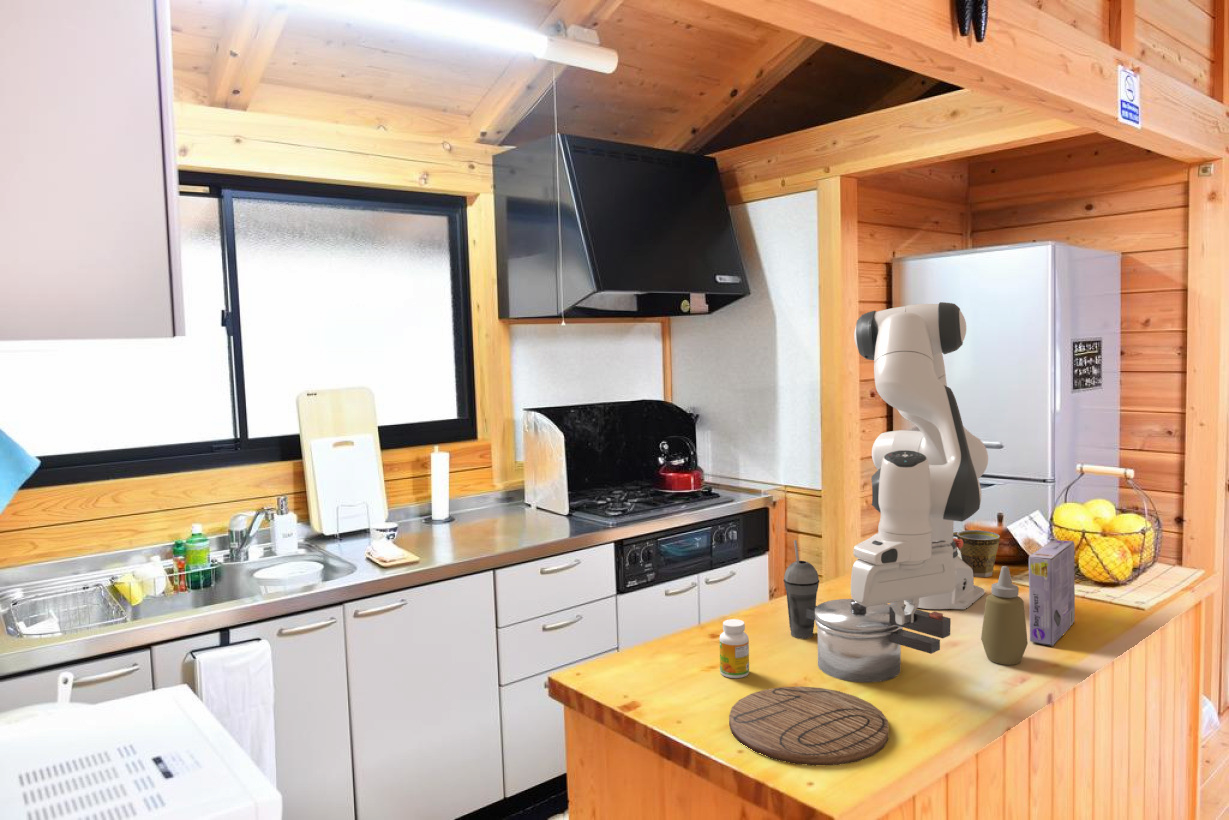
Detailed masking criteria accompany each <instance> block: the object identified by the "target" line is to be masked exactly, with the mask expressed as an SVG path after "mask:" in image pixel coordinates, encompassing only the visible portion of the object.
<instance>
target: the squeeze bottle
mask: <svg viewBox="0 0 1229 820" xmlns="http://www.w3.org/2000/svg"><path fill="white" fill-rule="evenodd" d="M1019 588H1020V587H1019V586H1018V585H1017V584H1014V583H1013V581H1012V576H1011V573H1010V567H1009V566H1008V565H1004V566H1003V565H1002V566H1001V569H1000V573H999V577H998V580H997V582H994V583H992V584H991V590H990V591H991V594H989V595H987V596H986V598H985V604H984V612H983V621H982V627H981V628H982V629H981V635H980V640H981V643H982V645H983V649H984V653H985V655H986V658H987V659H988V660H989V661H991V662H992V663H996V664H999V665H1006V666H1007V665H1009V666H1010V665H1018V664H1020V663H1021V662H1022V659H1023V656H1024V654H1025V651H1026V650H1027V646H1028V633H1027V622H1026V620H1027V619H1026V611H1025V601H1024V600H1023V598H1022V597H1021V596H1019Z"/></svg>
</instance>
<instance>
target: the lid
mask: <svg viewBox="0 0 1229 820" xmlns="http://www.w3.org/2000/svg"><path fill="white" fill-rule="evenodd" d="M816 606H817V607H816V608H815V619H816V620H817V621H818V622H819V623H820V624H822V625H824V626H826V627H829V628H832V629H836V630H840V631H846V632H853V633H880V632H887V631H891V630H894V629H897V628H899V627H903V629H908V630H911V631H916V632H918V633H922V634H925V635H927V636H928V635H929V636H933V637H934V638H935V637H937V638H938V639H939V638H940V639H945V638H947V637H950V636H951V618H950V617H948V616H945V615H944V613H942V612H937V611H935V610H934V611H933V612H928V611H926V610H921V609H918V608H917V609H916V611H915V613H914V621H913V623H909V624H904V625H899V624H897V623H896V621H895V612H894V611H893V609H892V607H891V605H890V603H887V604H881V605H875V606H869V607H865V606H862V605H860V604H858V603H856V602H855V601H854V600H853V598H841V599H840V598H839V599H832V600H828V601H824V602H821V603H819V604H818V605H816ZM901 607H902V609H903V611H904V609H905V607H906V605H904V606H901ZM943 615H944V616H943Z"/></svg>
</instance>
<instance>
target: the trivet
mask: <svg viewBox="0 0 1229 820" xmlns="http://www.w3.org/2000/svg"><path fill="white" fill-rule="evenodd" d="M728 720H729V721H728V722H729V729H730V733H731V735H732V734H733V735H732V736H733V737H734V738H735V740H736V741H739V742H740V743H742V744H743V745H745V746H747V747H748V748H750V749H752V750H753V751H755V752H757V753H756V754H758V753H761V754H763V755H766V756H768V757H770V758H769V759H771V758H773V759H772V760H774V759H777V760H776V761H779V760H780V761H779V762H783V761H786V762H785V763H788V762H790V763H789V764H792V763H795V764H794V765H802V764H807V765H806V766H812V765H814V766H815V767H817V766H816V765H825V766H840V764H841V765H844V764H845V765H847V764H852V763H857V762H860V761H863V760H866V759H868V758H870V757H873V756H875V755H876V754H877V753H879V752H880V751H882V750H884V748H885V746H886V744H887V743H888V741H889V736H890V735H889V734H890V733H889V722H888V719H887V716H885V714H884V713H883V712H882V710H880V709H879V708H877V707H876V706H875V705H874V704H873V703H871V702H869V701H866V700H864V699H862V698H861V697H858V696H855V695H852V694H849V693H847V692H843V691H838V690H833V689H828V688H824V687H813V686H812V687H811V686H802V685H801V686H782V687H774V688H773V687H772V688H767V689H763V690H759V691H756V692H752V693H749V694H748V695H746V696H745V697H742V698H741V699H739V700H738V701H736V702H735V703H734V705H732V706H731V709H730V712H729V716H728ZM739 742H738V743H739ZM742 744H741V745H742ZM743 745H742V746H743ZM745 746H744V747H745ZM747 747H746V748H747ZM748 748H747V749H748ZM750 749H749V750H750ZM753 751H752V752H753ZM755 752H754V753H755ZM763 755H762V756H763ZM768 757H767V758H768ZM862 759H863V760H862ZM814 766H813V767H814Z"/></svg>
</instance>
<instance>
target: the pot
mask: <svg viewBox="0 0 1229 820" xmlns="http://www.w3.org/2000/svg"><path fill="white" fill-rule="evenodd" d="M817 606H818V605H816V606H813V607H810V608H807V609H806V618H809V619H813V620H815V621H814V624H815V625H816V626H817V667H818V668H819V670H820V671H821V670H822V671H821V672H823V673H824V674H826V675H828V676H830V677H833V678H835V679H839V680H842V681H847V682H854V683H879V682H885V681H890V680H891V679H894V678H896V677H898V676H899V675H900V673H901V672H902V671H901V670H902V668H901V662H902V661H901V659H902V658H901V656H902V655H901V649H902V648H901V646H903V647H906V648H910V649H913V650H917V651H920V652H923V653H928V654H930V655H931V654H935V653H936V652H938V651H940V650H941V639H939V638H935V637H931V636H928V635H926V634H925V635H924V634H920V633H917V632H913V631H910V630H906V629H904V627H899V628H897V629H894V630H891V631H887V632H880V633H853V632H846V631H840V630H836V629H832V628H829V627H826V626H824V625H822V624H820V623H819V622H818V621H817V620H816V619H815V608H816V607H817Z"/></svg>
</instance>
